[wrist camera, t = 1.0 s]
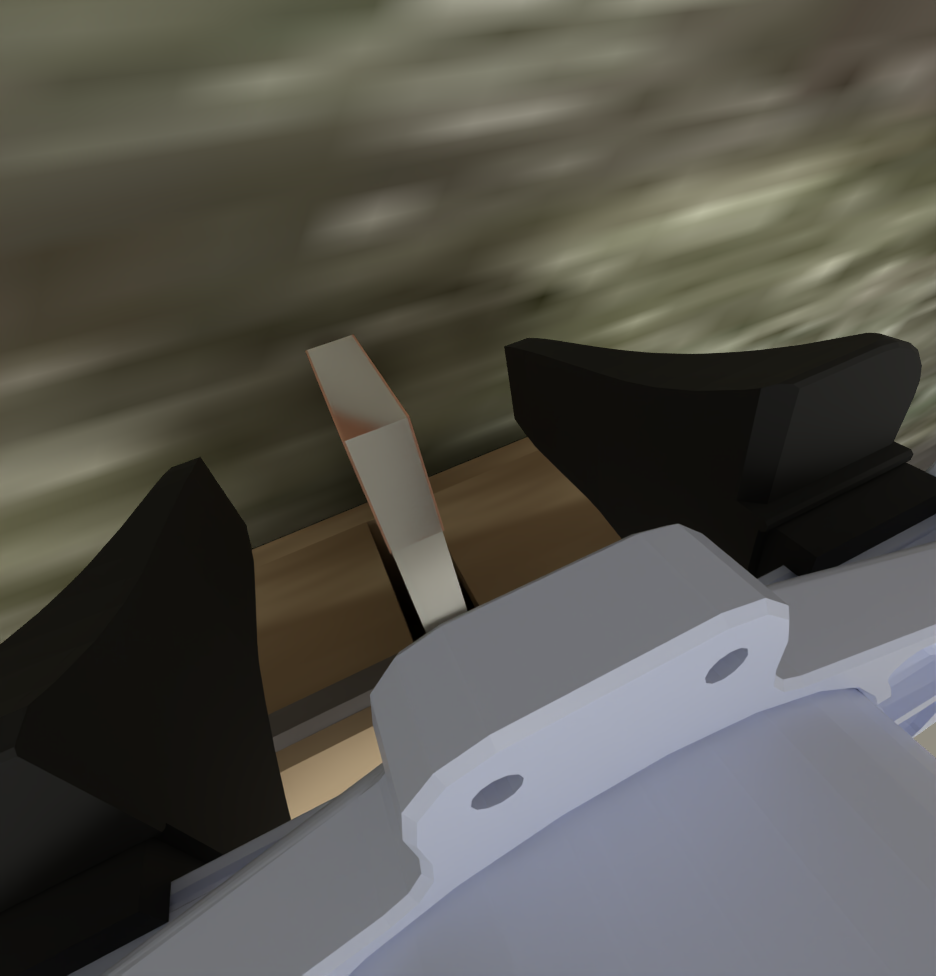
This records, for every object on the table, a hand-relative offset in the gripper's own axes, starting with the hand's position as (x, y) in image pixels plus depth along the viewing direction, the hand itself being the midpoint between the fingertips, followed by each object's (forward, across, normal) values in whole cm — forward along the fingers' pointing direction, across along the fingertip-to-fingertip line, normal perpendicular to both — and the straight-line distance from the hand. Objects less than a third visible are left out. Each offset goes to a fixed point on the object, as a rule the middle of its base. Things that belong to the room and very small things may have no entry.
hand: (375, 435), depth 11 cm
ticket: (+3, 0, +8) cm, 9 cm away
